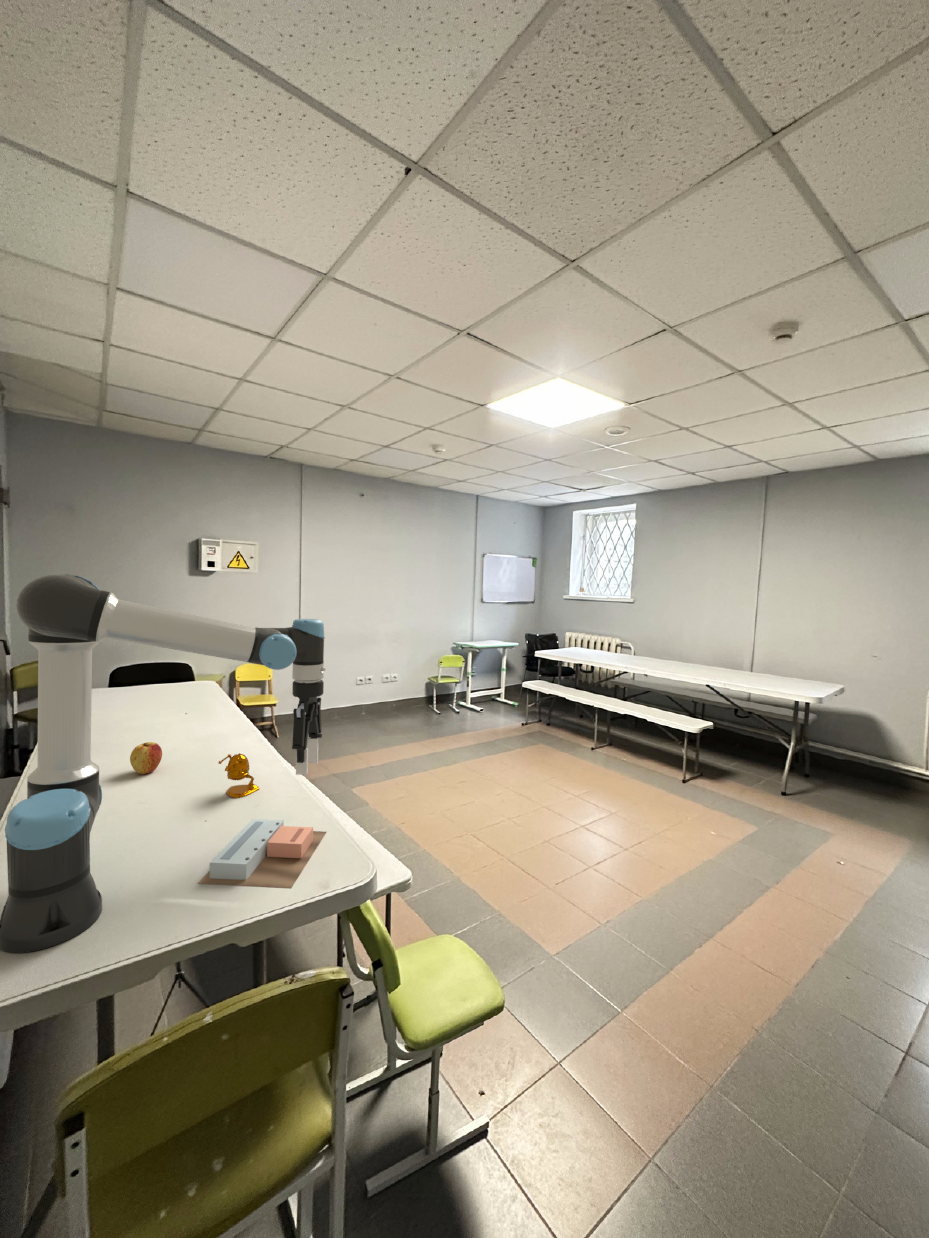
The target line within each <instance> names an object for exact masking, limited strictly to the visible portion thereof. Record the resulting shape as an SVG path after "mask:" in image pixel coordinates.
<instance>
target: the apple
mask: <svg viewBox="0 0 929 1238" xmlns="http://www.w3.org/2000/svg"><path fill="white" fill-rule="evenodd" d="M162 757H163V751H162V747H161V746H160V745H159V744H158V743H157V742H154V741H153V742H152V741H151V742H150V741H148V742H144V743H141V744H139V745H137V746H135V747H133V749H132V751H131V753H130V756H129V763H130V765H131V767H132V769H133V770H134V771H135V772H136V773H137V774H139V775H146V774H150V773H152V772H154V771H155V770H156V769H157V768H158V766H159V765H160V763H161V761H162Z"/></svg>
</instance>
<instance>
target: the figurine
mask: <svg viewBox="0 0 929 1238" xmlns="http://www.w3.org/2000/svg"><path fill="white" fill-rule="evenodd" d="M228 758H229V761H228V764H227V766H225V768H224V772H227V779H228V780H231V781H241V780H244V779H250V780H249V782H248V784H237V785H233V786H230V787H229V788H227V790H226V795H227V796H228V797H229V798H231V799H242V798H245V797H247V796H249V795H251V794H253V793H256V792H257V791H259V790H260V787H259V786H258V785H257V784H255V783H254V780H255V777H253V776H252V775H250V772H249V771H250V762H249V759H248V758H247V756H246V755H245V754H243V753H238V754H237V753H235V754H234V755H233V756H232V754H230V753H229V754H227V755H226V756H225V757H224V758H222V759H221V760H218V762H217V764H218V765H219V764H220V765H221V764H222V763H223V762H224V761H226V760H228Z"/></svg>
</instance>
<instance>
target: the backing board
mask: <svg viewBox="0 0 929 1238" xmlns="http://www.w3.org/2000/svg"><path fill="white" fill-rule="evenodd" d="M327 833H328V832H327V831H323V830H321V831H319V830H313V842H312V843H311V845H310V846H309V848H308V849H307V851H306V852H305V854H304V855H303V857H302V858H284V857H267V855H266V856H265V857H264V859H263V860H262V861H261V862H260V864H259V865H258V866H257V867H256V869H255V870H254V871H253V872H252V874H251V875H250V876H249V877H248V879H247V880H235V879H216V878H210V870H209V871H208V872H207V873H206V874H204V876H203V877H202V878H201V879H200V880H199V881H198V882H197V884H198V885H215V886H217V885H218V886H219V885H221V886H238V887H256V888H275V889H276V888H278V889H292V888H293V887H294V885H295V884H296V881H297V880H298V879H299V877H300V876H301V875H302V874H301V873H303V871H304V869H305V867H306V866H307V864H308V862H310V859H311V858H312V856H313V854H314V853H315V852H316V850H317V849H318V847H319V845H320V844H321V842H322V840H323V839H324V837H325V835H326V834H327Z"/></svg>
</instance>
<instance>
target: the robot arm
mask: <svg viewBox="0 0 929 1238" xmlns="http://www.w3.org/2000/svg"><path fill="white" fill-rule="evenodd" d="M16 612H17V614H18V617H19V618H20V620H21V622H22V623H23V624H24V625H25V626H26V627H27V628H28V630H27V632H28V635H27V636H28V637H27V638H28V639H27V640H28V643H29V644H30V645H31V646H32V647H34V648H36V649H37V651H38V653H37V654H38V662H37V663H38V665H37V667H38V671H37V673H38V674H37V675H38V677H37V681H38V683H37V763H36V765H37V767H36V768H35V769H34V770H33V771H32V772H31V773H30V774H29V775H28V776H27V777H26V778H27V779H26V781H27V785H26V788H27V789H26V795H27V796H26V799H23V800H21V801H19V802H18V803H17V804H16V805H15V806H13V807H12V808H11V809H10V811H9V812H8V814H7V817H6V824H5V828H4V833H5V838H6V858H7V859H6V863H7V884H8V885H7V886H8V887H7V889H8V891H7V893H8V895H7V898H6V902H5V904H4V906H3V909H2V912H1V915H0V950H1V951H3V952H7V953H13V954H16V953H17V954H20V953H29V952H36V951H39V950H45V949H47V948H50V947H53V946H56V945H59V944H62V943H64V942H66V941H68V940H70V939H72V938H75V937H76V936H78V935H79V934H81V933H83V932H84V931H86V930H87V929H88V928H89V927H91V926H92V925H93V924H94V923H96V921H97V920H98V919H99V918H100V916H101V915H102V912H103V897H102V894H101V892H100V891H99V889H98V888H97V885H96V883H95V880H94V877H93V876H92V873H91V849H90V848H91V845H90V844H91V843H90V842H91V841H90V839H91V838H90V837H91V832H92V829H93V825H94V822H95V819H96V816H97V813H98V811H99V810H100V806H101V805H102V799H103V790H102V785H101V784H100V766H99V765H98V764H97V763H96V762H94V761H92V757H91V755H92V753H91V751H92V748H91V747H92V746H91V745H92V695H93V694H92V691H93V690H92V688H93V687H92V686H93V685H92V683H93V681H92V678H93V676H92V675H93V650H94V648H95V647H96V646H98V644H100V643H101V642H102V641H103V640H105V639H111V640H118V641H123V642H128V643H133V644H134V643H135V644H139V645H146V646H151V647H156V648H157V647H158V648H162V649H163V648H164V649H168V650H174V651H179V652H184V653H185V652H187V653H192V654H198V655H204V656H210V657H215V658H220V659H221V658H222V659H227V660H232V661H238V662H239V661H240V662H245V663H249V664H254V665H258V666H259V665H260V666H264V667H266V668H268V669H271V670H274V671H275V670H278V671H280V670H284V669H286V668H288V667H289V666H291V665H292V671H291V672H292V675H291V677H292V680H293V682H292V696H293V697H295V698H298V699H299V700H298V704H297V708H293V711H292V712H293V726H292V728H293V729H292V731H293V732H292V743H291V744H292V746H291V748H292V749H291V750H295V775H299V776H300V775H301V776H307V775H308V774H309V773H308V771H309V769H308V768H309V764H316V765H317V764H318V763H319V739H320V738H321V739H322V737H323V734H322V709H321V705H322V698H321V696H323V694H324V680H323V678H324V672H325V671H326V667H324V662H325V661H324V656H325V654H324V653H325V652H324V651H325V627H324V622H323V621H322V620H321V619H317V618H297V619H294V620H293V622H292V626H290V627H256V626H255V627H250V626H247V625H246V626H244V625H242V624H237V623H236V624H235V623H233V622H232V623H231V622H229V621H222V620H218V619H212V618H208V617H203V616H198V615H195V614H194V615H193V614H190V613H184V612H181V611H175V610H171V609H166V608H161V607H156V606H151V605H146V604H144V603H143V604H142V603H136V602H132V601H128V600H122V599H119V598H118V597H117V596H116V595H115V593H114V592H111V591H106V590H102V589H100V588H99V587H98V586H97V585H96V584H95V583H93V582H92V581H91V580H89V579H87V578H85V577H83V576H79V575H72V574H67V573H66V574H50V575H43V576H39V577H38V578H35V579H33V580H31V581H30V582H28V583H27V584H26V585H24V586H23V588H22V589H21V590H20V592H19V593H18V596H17V599H16Z"/></svg>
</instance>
